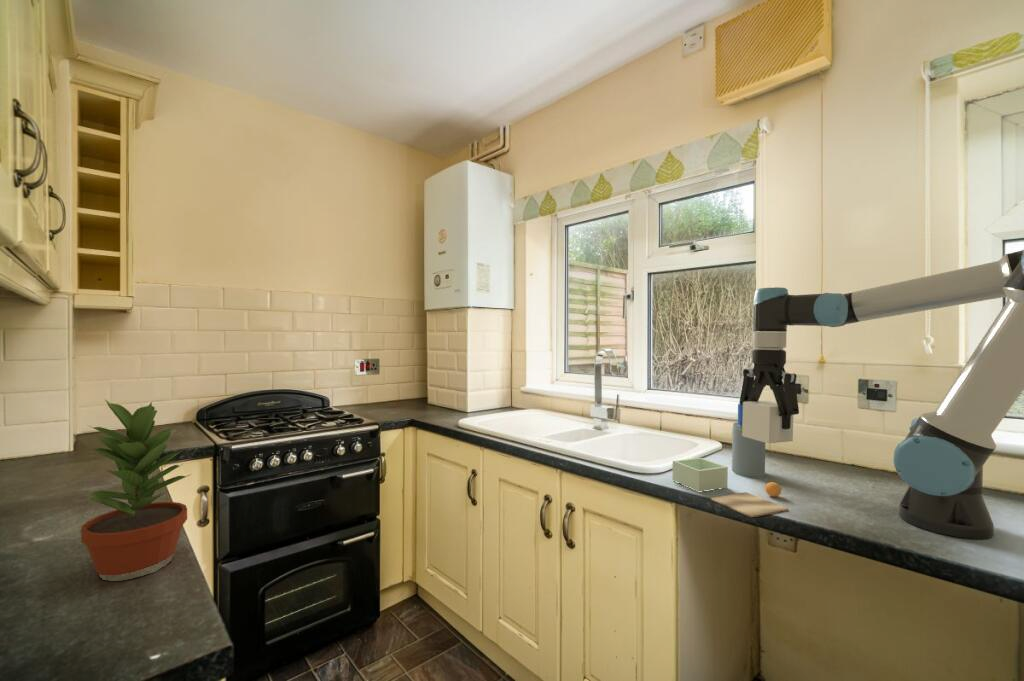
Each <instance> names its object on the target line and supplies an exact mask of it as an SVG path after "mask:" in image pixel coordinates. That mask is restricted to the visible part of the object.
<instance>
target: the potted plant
mask: <svg viewBox="0 0 1024 681" xmlns="http://www.w3.org/2000/svg"><path fill="white" fill-rule="evenodd" d="M104 400H105V401H106V404H107V407H108V408H109V409H110V410H111V411H112V413H113V414H114V416H116V418H117V419H118V420H119V422H120V423H121V424H122V425H123V427H124V428H125V429H126V432H125V433H126V435H123V434H121V433H119V432H116V431H114V430H111V429H109V428H105V427H101V426H96V427H92V426H90V425H88V424H86V426H87V427H90V428H92V429H94V430H96V431H98V432H101V433H103V434H105V435H107V436H105V437H103V436H102V437H101V436H100V435H97V434H94V435H95V437H97V438H98V440H99V441H100V442H101V443H103V444H104V445H105V446H106V447H108V448H109V449H108V448H102V447H99V448H93V447H92V448H91V447H89V446H87V448H88V449H90V450H91V451H94V452H96V453H98V454H100V455H102V456H104V457H106V458H107V459H110V460H112V461H114V463H115V465H116V467H117V470H111V469H106V470H107V472H108V473H110V474H112V475H114V476H115V477H117V478H119V479H120V480H121V485H122V489H123V492H122V491H121V492H119V491H109V490H99V491H94V492H92V493H89V495H87V494H86V493H84V494H83V496H84V497H85V498H88V499H90V500H91V501H93V502H96V503H99V504H101V505H104V506H107V507H109V508H111V509H114V510H110V511H108V512H105V513H103V514H99V515H97V516H95V517H93V518H91V519H89V520H87V521H86V522H85V523H84V524H82V526H81V530H80V535H81V536H80V537H81V538H80V539H81V540H80V541H81V543H82V544H84V545H85V546H86V548H87V550H88V552H89V554H90V558H91V560H92V563H93V565H94V568H95V571H96V573H97V572H98V573H99V574H101V575H121V574H126V573H131V572H135V571H137V570H141V569H144V568H147V567H150V566H153V565H155V564H158V563H159V562H161V561H163V560H166V559H167V558H169V557H170V556H171V555H173V553H174V552H175V553H176V550H177V546H178V542H179V539H180V535H181V533H182V529H183V526H184V524H185V523H186V522H187V520H188V508H187V505H186V504H184V503H181V502H178V501H177V502H175V501H159V502H158V501H157V502H155V501H156V500H158V499H159V498H160V497H161V496H163V495H164V494H166V492H164V493H163V492H160V493H159V494H157V495H154V493H155V492H156V491H158V490H161V489H162V488H164V487H166V486H169V485H171V484H173V483H176V482H178V481H180V480H183V479H185V478H186V477H189V476H191V475H192V473H191V474H188V475H177V476H174V477H171V478H169V479H165V480H163V481H161V482H160V479H162V478H163V477H164V476H166V475H168V474H169V473H172V472H173V471H175V470H176V469H177V468H179V467H181V466H183V464H184V463H182V464H180V465H178V464H174V465H171V466H169V467H167V468H166V469H164V470H162V471H160V472H159V473H157V474H156V475H153V476H152V477H149V476H150V475H151V474H152V473H154V472H155V471H157V469H159V468H161V467H162V466H163V465H164V464H166V463H167V462H169V461H170V460H172V459H173V458H175V456H177V455H179V453H181V452H182V450H180V451H179V452H177V453H176V452H175V453H174V452H172V453H169V454H166V455H165V456H163V457H161V455H162V454H163V453H164V452H165V450H166V449H167V447H168V444H167V443H166V442H167V441H168V439H169V438H170V436H171V433H172V432H171V431H172V430H173V429H174V427H173V425H171V426H170V427H168V428H167V429H165V430H162V431H159V432H157V433H156V434H154V435H151V434H152V431H153V429H154V427H155V423H156V422H155V420H154V419H155V418H156V415H157V413H158V410H155V409H156V408H155V406H153V401H151V402H150V403H149V404H148V405H147V406H143V407H139V408H137V409H136V410H135V411H134V412H133V414H132V413H131V412H130V411H129V410H128V409H127V408H125V407H124V406H123V405H121V404H118V403H111V402H110V401H108V400H107V398H106V399H105V398H104ZM109 436H110V437H109ZM160 457H161V458H160ZM159 458H160V459H159ZM158 459H159V460H158ZM121 500H127V502H128V503H125V501H124V502H123V501H121ZM175 553H174V554H175ZM98 573H97V574H98Z"/></svg>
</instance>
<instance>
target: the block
mask: <svg viewBox="0 0 1024 681" xmlns="http://www.w3.org/2000/svg"><path fill="white" fill-rule="evenodd" d="M778 414H780V411H779V408H778V405H777V402H776V401H771V400H758V401H749V402H743V421H742V436H744V437H747V438H751V439H754V440H758V441H762V442H765V444H776V443H777V444H778V443H780V442H777V415H778ZM793 437H794V415H792V416H791V420H790V429H788V440H787V442H793V439H794V438H793ZM787 442H786V443H787Z"/></svg>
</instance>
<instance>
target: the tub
mask: <svg viewBox="0 0 1024 681" xmlns="http://www.w3.org/2000/svg"><path fill="white" fill-rule="evenodd" d="M728 474H729V473H728V466H726V465H723V464H720V463H717V462H714V461H711V460H708V459H705V458H702V457H695V458H686V459H678V460H677V459H676V460H672V480H674V481H677V482H679V483H681V484H683V485H685V486H688V487H691V488H693V489H695V490H697V491H704V490H710V489H719V488H726V489H728V478H729V476H728ZM685 486H684V487H685Z"/></svg>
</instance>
